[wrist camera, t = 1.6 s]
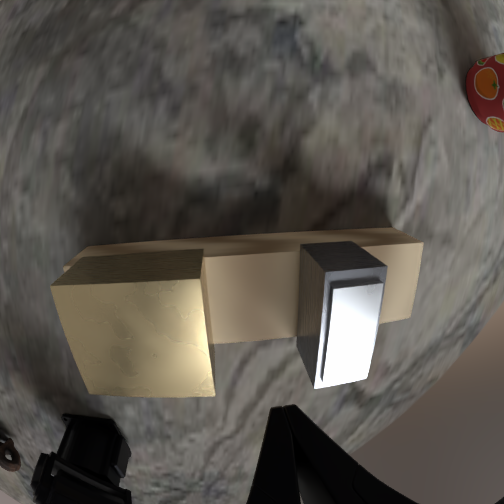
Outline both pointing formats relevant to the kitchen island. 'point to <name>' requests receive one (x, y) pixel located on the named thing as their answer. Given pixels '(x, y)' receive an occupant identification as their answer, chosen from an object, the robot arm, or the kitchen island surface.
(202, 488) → the kitchen island surface
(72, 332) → the tan rectangular block
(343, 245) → the dark grey block
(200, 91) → the kitchen island surface
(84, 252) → the body
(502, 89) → the smoothie
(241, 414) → the kitchen island surface
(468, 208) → the kitchen island surface
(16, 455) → the pottery mug
